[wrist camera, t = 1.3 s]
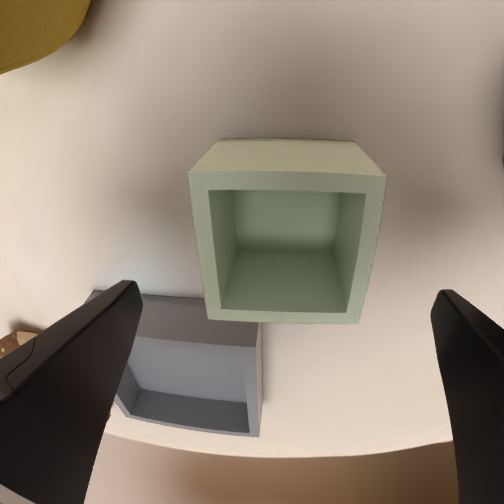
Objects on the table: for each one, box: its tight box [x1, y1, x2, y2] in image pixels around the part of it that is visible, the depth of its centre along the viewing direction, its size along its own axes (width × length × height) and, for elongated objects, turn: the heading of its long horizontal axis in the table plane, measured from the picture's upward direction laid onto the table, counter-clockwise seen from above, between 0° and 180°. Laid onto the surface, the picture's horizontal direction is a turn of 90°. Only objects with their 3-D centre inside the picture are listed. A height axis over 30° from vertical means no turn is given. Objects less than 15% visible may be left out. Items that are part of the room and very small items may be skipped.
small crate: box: [187, 138, 387, 324], centre depth 12 cm, size 6×6×5 cm
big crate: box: [84, 290, 263, 437], centre depth 20 cm, size 11×11×4 cm
